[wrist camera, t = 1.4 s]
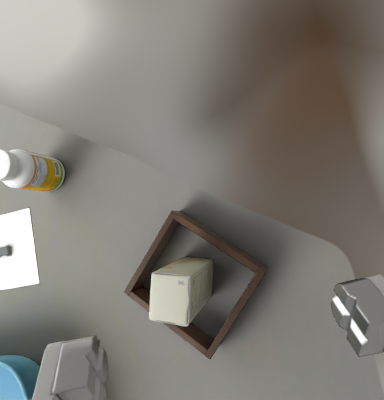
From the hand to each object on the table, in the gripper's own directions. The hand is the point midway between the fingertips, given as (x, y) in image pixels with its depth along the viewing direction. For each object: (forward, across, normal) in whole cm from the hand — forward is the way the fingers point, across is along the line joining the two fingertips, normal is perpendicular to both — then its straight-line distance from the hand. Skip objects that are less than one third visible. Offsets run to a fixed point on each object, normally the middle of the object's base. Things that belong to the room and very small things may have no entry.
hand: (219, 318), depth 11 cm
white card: (+36, +29, +23) cm, 51 cm away
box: (+22, -1, +23) cm, 32 cm away
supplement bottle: (+40, +19, +12) cm, 46 cm away
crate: (+22, 0, +23) cm, 32 cm away
